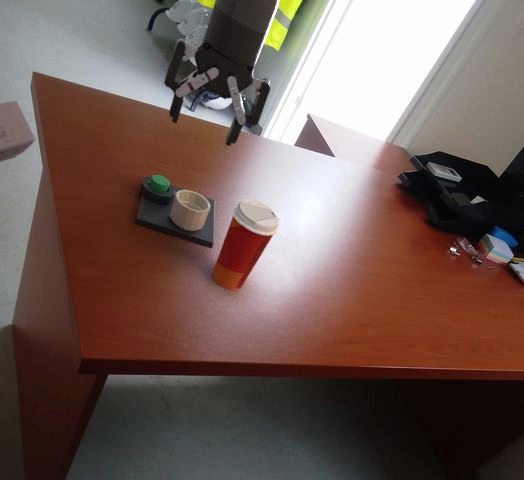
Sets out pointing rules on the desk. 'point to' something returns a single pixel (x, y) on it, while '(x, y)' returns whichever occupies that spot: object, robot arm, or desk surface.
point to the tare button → (159, 183)
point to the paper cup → (244, 242)
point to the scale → (158, 215)
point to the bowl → (189, 210)
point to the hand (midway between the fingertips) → (201, 132)
